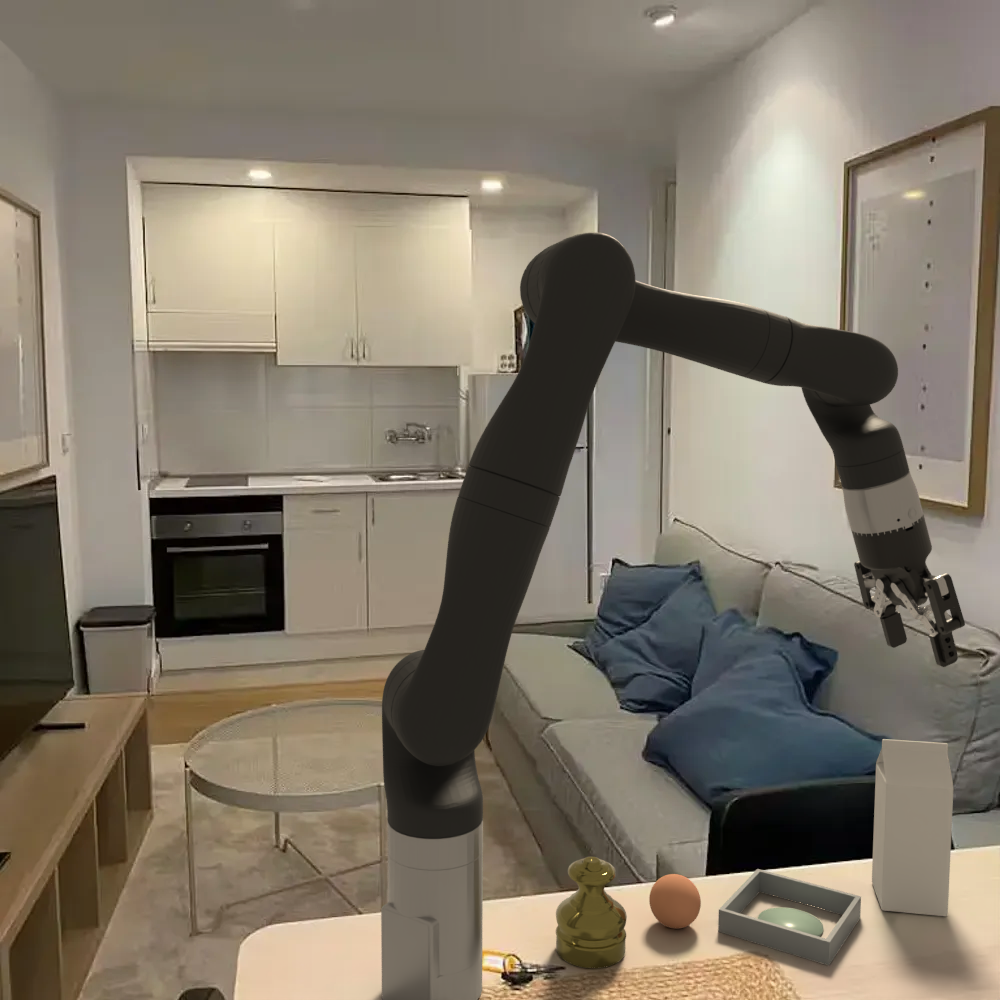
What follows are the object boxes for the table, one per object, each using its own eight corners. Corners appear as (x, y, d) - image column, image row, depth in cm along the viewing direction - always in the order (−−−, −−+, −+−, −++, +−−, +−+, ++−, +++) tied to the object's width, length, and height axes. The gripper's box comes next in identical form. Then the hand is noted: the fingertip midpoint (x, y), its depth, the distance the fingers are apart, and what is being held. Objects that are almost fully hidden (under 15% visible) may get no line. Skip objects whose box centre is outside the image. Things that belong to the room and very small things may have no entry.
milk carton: (947, 918, 114) (955, 753, 112) (881, 911, 115) (887, 749, 113) (934, 889, 121) (940, 733, 119) (871, 883, 122) (877, 729, 120)
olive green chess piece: (640, 951, 106) (641, 859, 106) (596, 979, 101) (597, 883, 100) (585, 926, 112) (586, 838, 111) (540, 951, 106) (541, 860, 105)
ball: (687, 943, 108) (688, 893, 107) (640, 928, 111) (641, 879, 110) (708, 922, 112) (709, 873, 112) (662, 908, 116) (663, 860, 115)
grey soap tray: (828, 965, 104) (829, 942, 103) (718, 931, 110) (718, 909, 110) (860, 917, 114) (861, 896, 113) (756, 889, 120) (757, 868, 120)
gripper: (819, 522, 115) (855, 651, 118) (897, 539, 101) (936, 684, 104) (875, 499, 117) (909, 627, 119) (959, 513, 103) (996, 657, 106)
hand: (922, 653), depth 112 cm, fingers open, 8 cm apart
